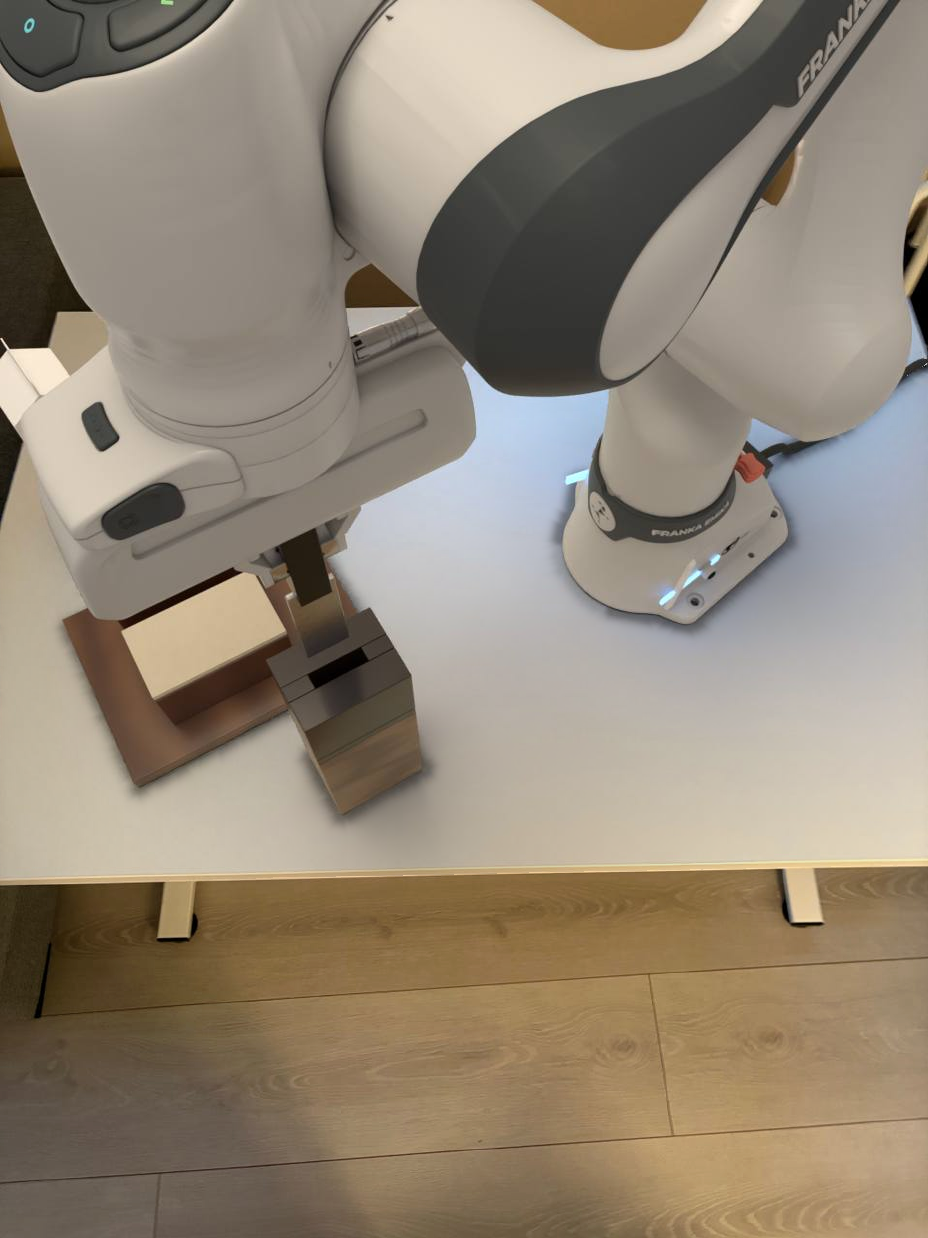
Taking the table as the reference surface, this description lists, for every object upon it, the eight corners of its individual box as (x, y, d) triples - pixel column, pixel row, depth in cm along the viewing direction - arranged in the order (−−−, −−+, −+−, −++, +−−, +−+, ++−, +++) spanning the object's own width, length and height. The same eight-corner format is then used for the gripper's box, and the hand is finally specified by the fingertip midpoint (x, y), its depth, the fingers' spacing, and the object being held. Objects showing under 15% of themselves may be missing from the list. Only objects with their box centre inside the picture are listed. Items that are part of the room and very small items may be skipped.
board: (298, 517, 92) (296, 509, 90) (383, 659, 85) (382, 653, 83) (67, 626, 86) (61, 619, 85) (138, 787, 79) (133, 782, 78)
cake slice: (242, 561, 88) (227, 524, 82) (258, 589, 86) (243, 554, 80) (123, 617, 85) (98, 584, 79) (137, 648, 83) (113, 616, 78)
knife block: (390, 713, 82) (370, 606, 64) (422, 769, 80) (412, 675, 61) (310, 757, 81) (265, 659, 62) (341, 815, 78) (304, 732, 60)
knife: (341, 623, 60) (304, 481, 46) (355, 647, 59) (322, 510, 45) (300, 644, 59) (249, 506, 45) (313, 668, 59) (266, 536, 44)
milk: (97, 549, 90) (-6, 402, 70) (69, 507, 92) (-39, 353, 72) (152, 517, 92) (67, 365, 72) (124, 477, 94) (33, 318, 74)
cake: (265, 603, 86) (251, 568, 80) (298, 662, 83) (286, 630, 77) (144, 662, 83) (120, 631, 77) (174, 726, 80) (152, 698, 74)
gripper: (432, 244, 41) (439, 439, 53) (-23, 433, 36) (101, 598, 48) (507, 338, 38) (496, 519, 50) (30, 553, 33) (146, 694, 46)
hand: (300, 559), depth 49 cm, fingers closed on knife, 2 cm apart
